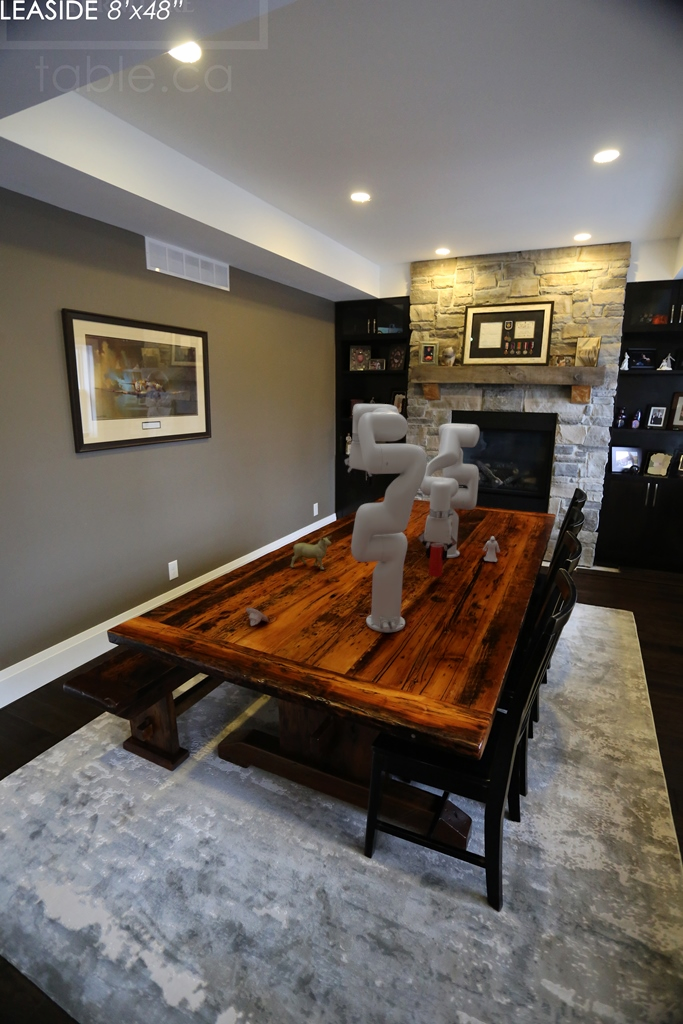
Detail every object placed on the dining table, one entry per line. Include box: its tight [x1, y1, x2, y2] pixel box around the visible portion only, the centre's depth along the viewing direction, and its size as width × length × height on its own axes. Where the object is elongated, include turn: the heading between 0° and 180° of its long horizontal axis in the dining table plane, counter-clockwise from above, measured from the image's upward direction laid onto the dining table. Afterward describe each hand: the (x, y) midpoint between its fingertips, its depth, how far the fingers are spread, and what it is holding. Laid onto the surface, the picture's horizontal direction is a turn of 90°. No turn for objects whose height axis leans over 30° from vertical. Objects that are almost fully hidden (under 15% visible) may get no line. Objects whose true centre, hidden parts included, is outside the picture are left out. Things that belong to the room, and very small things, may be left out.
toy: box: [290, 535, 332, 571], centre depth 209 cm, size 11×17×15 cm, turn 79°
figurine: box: [482, 535, 501, 563], centre depth 223 cm, size 8×8×12 cm
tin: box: [428, 542, 444, 578], centre depth 195 cm, size 5×5×12 cm
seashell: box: [245, 607, 269, 627], centre depth 160 cm, size 8×5×8 cm
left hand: (361, 484), depth 186 cm, fingers open, 9 cm apart
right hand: (436, 557), depth 195 cm, fingers closed on tin, 5 cm apart
